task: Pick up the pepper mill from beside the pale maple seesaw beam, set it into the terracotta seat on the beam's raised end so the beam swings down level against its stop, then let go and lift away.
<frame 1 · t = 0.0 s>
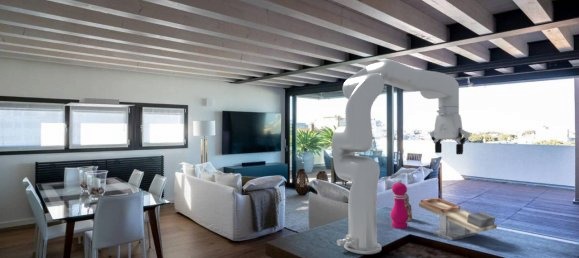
hand: (448, 153, 135), 31 cm above the table, tool pointing down, fingers open, 9 cm apart
fulcrum: (455, 234, 129), on the table
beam: (456, 211, 129), point 9 cm above the table, hinge at 10.0°
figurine: (403, 219, 152), on the table
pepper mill: (399, 227, 140), on the table
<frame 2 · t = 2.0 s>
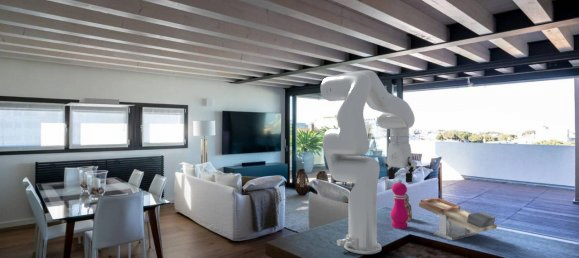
hand: (399, 180, 140), 19 cm above the table, tool pointing down, fingers open, 9 cm apart
nothing on the table moved.
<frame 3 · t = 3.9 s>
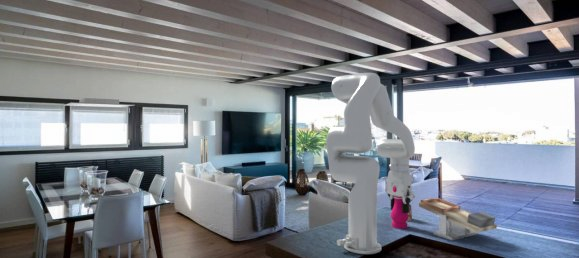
hand: (399, 210, 140), 7 cm above the table, tool pointing down, fingers closed on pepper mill, 5 cm apart
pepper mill: (399, 227, 140), on the table, touching gripper
everything else where it was.
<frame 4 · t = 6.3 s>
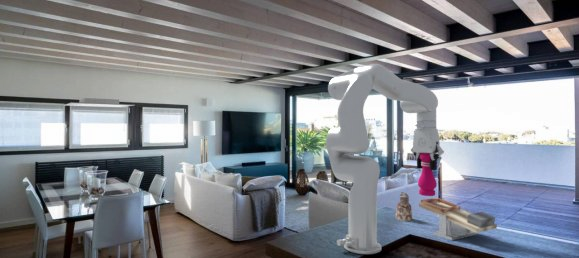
hand: (426, 168, 137), 25 cm above the table, tool pointing down, fingers closed on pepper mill, 5 cm apart
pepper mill: (427, 194, 138), point 14 cm above the table, touching gripper
everything else where it was.
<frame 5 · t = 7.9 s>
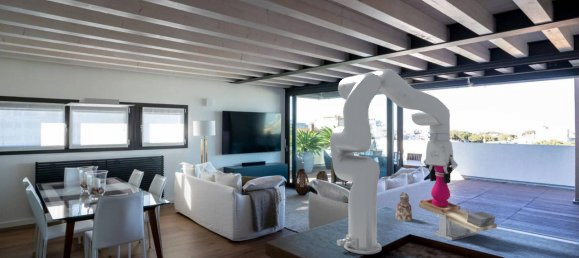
hand: (439, 181, 136), 20 cm above the table, tool pointing down, fingers open, 5 cm apart
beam: (456, 211, 129), point 9 cm above the table, hinge at 9.2°, touching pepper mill
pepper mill: (439, 205, 137), point 10 cm above the table, touching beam, gripper
everything else where it was.
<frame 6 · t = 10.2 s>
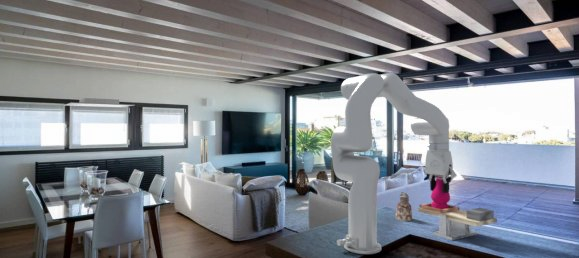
hand: (439, 191, 136), 16 cm above the table, tool pointing down, fingers closed on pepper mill, 5 cm apart
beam: (455, 210, 129), point 9 cm above the table, hinge at -0.3°, touching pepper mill
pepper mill: (439, 208, 137), point 8 cm above the table, touching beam, gripper
everything else where it was.
when the fingers open (16 cm above the table, at t = 10.2 s): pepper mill stays where it is, resting on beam.
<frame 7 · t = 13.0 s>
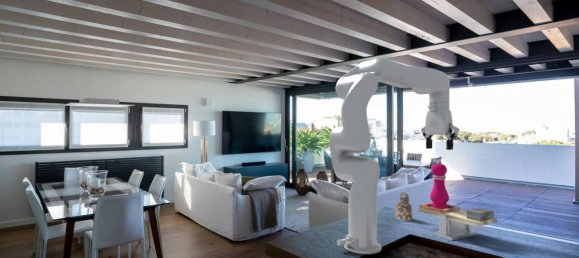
hand: (439, 149, 135), 33 cm above the table, tool pointing down, fingers open, 9 cm apart
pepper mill: (439, 208, 137), point 8 cm above the table, touching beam
everything else where it was.
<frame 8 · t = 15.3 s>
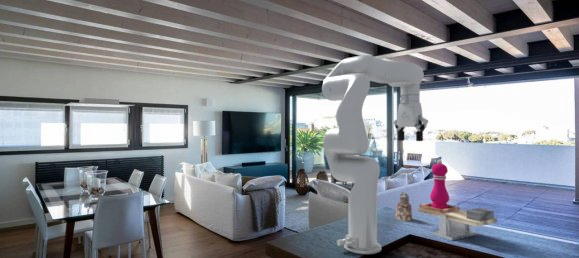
hand: (410, 140, 139), 36 cm above the table, tool pointing down, fingers open, 9 cm apart
nothing on the table moved.
at the end: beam at +0° (first picture: +10°); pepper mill 1.4 cm from the target spot on the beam, point 1.3 cm above the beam's base; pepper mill tilted 0° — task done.
